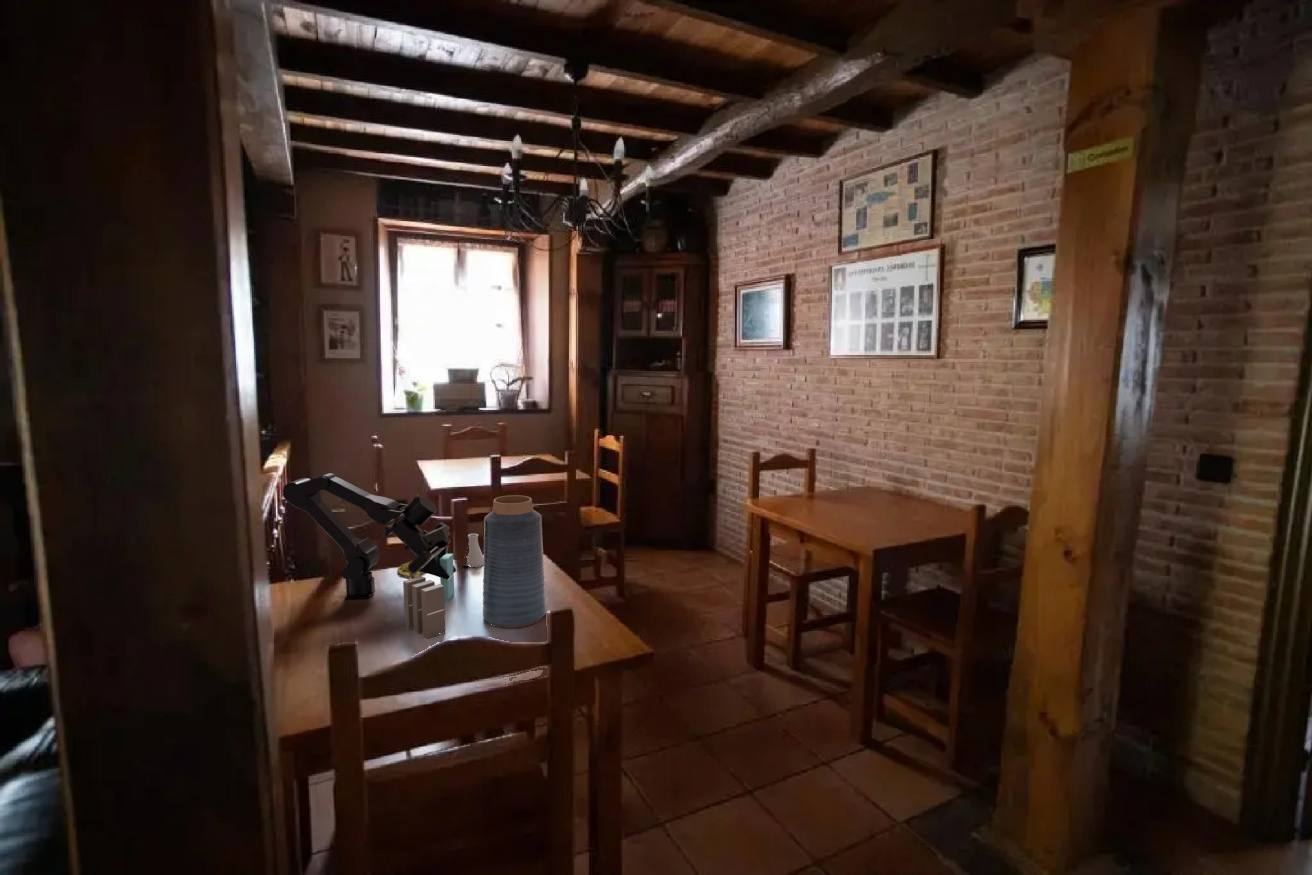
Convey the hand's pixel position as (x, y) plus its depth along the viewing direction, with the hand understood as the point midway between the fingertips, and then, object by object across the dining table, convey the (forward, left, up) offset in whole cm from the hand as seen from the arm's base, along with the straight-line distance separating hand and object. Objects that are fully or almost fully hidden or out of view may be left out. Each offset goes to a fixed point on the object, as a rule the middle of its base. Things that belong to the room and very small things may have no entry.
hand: (452, 574), depth 184 cm
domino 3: (0, -24, -7) cm, 25 cm away
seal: (-16, +24, -7) cm, 30 cm away
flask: (+2, +28, -7) cm, 29 cm away
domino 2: (-3, -21, -7) cm, 22 cm away
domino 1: (-6, -18, -7) cm, 20 cm away
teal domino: (-1, 0, -7) cm, 7 cm away
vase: (+19, -15, -7) cm, 25 cm away
